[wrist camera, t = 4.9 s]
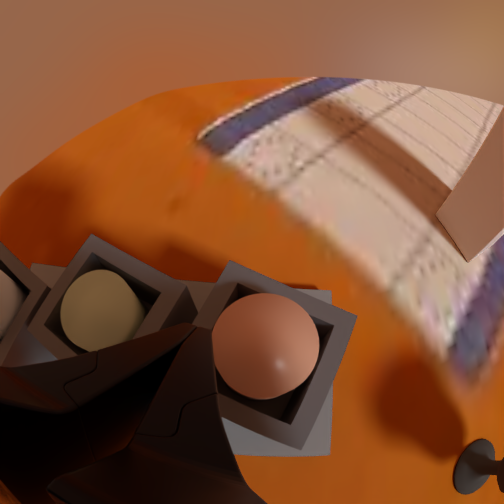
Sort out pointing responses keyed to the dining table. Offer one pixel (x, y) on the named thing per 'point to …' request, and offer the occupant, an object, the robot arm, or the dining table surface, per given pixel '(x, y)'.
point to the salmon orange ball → (264, 346)
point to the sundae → (478, 467)
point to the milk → (478, 198)
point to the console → (202, 315)
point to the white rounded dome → (9, 302)
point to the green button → (101, 311)
